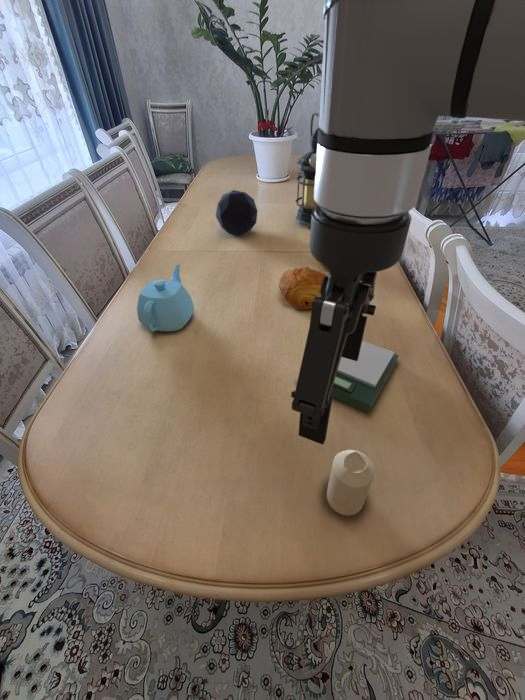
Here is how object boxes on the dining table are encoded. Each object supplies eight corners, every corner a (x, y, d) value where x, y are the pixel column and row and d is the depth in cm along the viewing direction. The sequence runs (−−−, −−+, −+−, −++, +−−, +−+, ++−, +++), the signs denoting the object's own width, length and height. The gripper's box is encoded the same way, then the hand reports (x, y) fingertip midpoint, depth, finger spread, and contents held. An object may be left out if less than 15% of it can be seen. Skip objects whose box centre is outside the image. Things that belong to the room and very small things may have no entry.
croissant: (279, 317, 91) (279, 294, 85) (278, 280, 101) (277, 256, 95) (335, 316, 90) (339, 292, 84) (328, 278, 100) (331, 254, 94)
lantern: (335, 229, 128) (349, 114, 104) (300, 233, 125) (307, 117, 102) (321, 215, 138) (331, 108, 115) (289, 218, 136) (293, 110, 113)
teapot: (201, 264, 86) (168, 304, 73) (206, 301, 94) (177, 343, 81) (155, 259, 89) (116, 297, 76) (164, 295, 96) (129, 335, 83)
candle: (331, 475, 55) (338, 438, 49) (366, 487, 54) (379, 451, 47) (322, 508, 51) (329, 473, 45) (360, 521, 50) (373, 487, 43)
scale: (396, 363, 74) (399, 351, 72) (368, 413, 64) (371, 402, 62) (335, 340, 80) (337, 329, 78) (301, 383, 70) (302, 372, 68)
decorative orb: (211, 210, 130) (211, 183, 115) (250, 206, 132) (255, 178, 118) (219, 245, 127) (220, 221, 112) (259, 239, 130) (265, 216, 115)
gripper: (354, 162, 36) (332, 325, 50) (241, 269, 20) (255, 468, 34) (431, 169, 34) (385, 338, 48) (376, 299, 17) (330, 501, 31)
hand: (331, 392), depth 41 cm, fingers open, 13 cm apart
